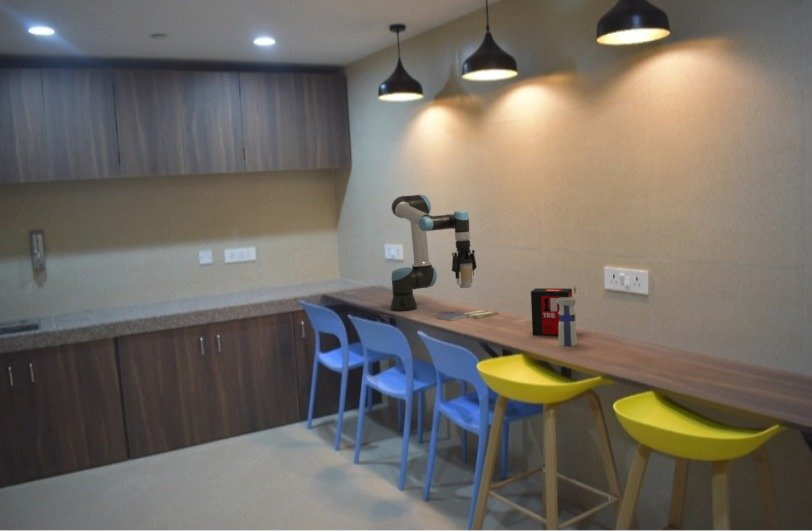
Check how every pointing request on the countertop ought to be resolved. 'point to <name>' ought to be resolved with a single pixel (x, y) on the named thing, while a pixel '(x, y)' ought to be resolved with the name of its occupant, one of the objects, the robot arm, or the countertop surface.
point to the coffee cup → (465, 272)
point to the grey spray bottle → (567, 321)
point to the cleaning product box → (546, 310)
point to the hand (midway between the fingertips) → (465, 283)
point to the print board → (479, 314)
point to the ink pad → (451, 316)
